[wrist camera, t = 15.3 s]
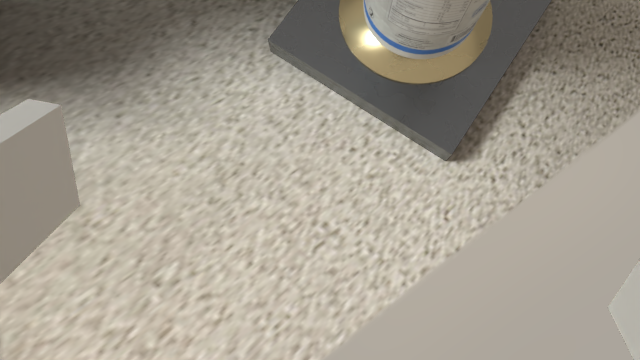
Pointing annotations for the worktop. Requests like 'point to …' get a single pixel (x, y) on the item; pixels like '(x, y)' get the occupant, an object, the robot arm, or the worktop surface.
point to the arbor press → (406, 66)
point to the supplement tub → (422, 24)
